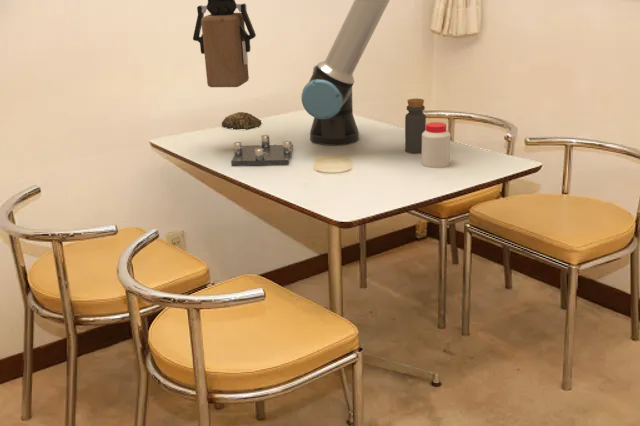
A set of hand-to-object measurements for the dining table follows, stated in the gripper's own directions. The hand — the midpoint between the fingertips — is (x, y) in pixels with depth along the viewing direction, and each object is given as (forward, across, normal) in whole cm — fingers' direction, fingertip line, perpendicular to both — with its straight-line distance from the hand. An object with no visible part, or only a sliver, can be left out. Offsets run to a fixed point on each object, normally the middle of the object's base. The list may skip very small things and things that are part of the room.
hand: (226, 64), depth 227 cm
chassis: (+26, -10, +10) cm, 29 cm away
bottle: (+27, -54, +4) cm, 60 cm away
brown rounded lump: (+26, +2, -30) cm, 39 cm away
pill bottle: (+27, -59, +17) cm, 67 cm away
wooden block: (+6, 0, 0) cm, 6 cm away
